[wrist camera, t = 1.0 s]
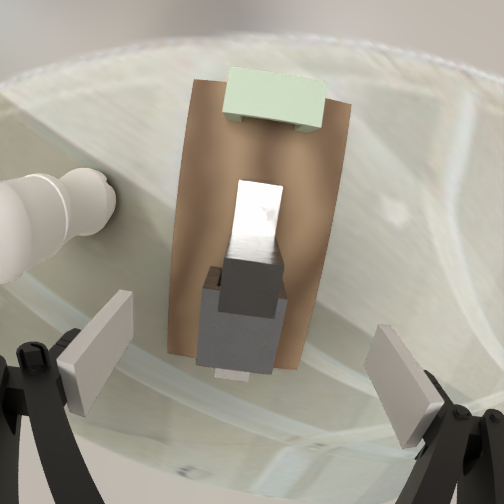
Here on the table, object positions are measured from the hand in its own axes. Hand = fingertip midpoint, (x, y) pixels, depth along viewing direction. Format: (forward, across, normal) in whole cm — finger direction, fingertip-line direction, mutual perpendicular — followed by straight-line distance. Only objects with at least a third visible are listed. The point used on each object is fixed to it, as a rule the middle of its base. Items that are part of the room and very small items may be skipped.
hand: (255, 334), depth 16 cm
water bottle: (+19, -18, +2) cm, 26 cm away
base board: (+19, 0, 0) cm, 19 cm away
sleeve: (+19, 0, -7) cm, 20 cm away
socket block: (+19, 0, +14) cm, 23 cm away
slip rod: (+18, 0, -4) cm, 18 cm away
